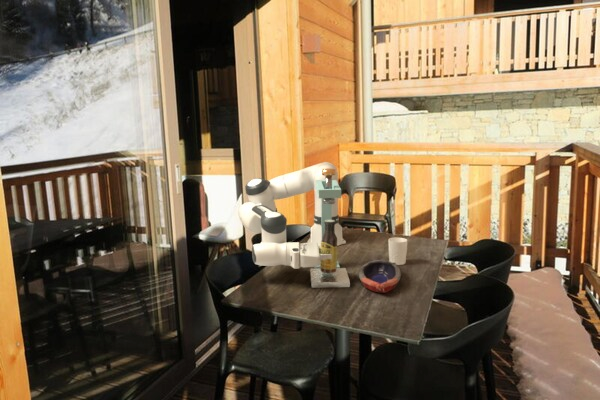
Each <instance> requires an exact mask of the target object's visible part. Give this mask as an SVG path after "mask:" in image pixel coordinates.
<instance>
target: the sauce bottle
mask: <svg viewBox="0 0 600 400" xmlns="http://www.w3.org/2000/svg"><path fill="white" fill-rule="evenodd" d="M324 224H325V231H324V234H323V237H322V240H321V253H320V254H327V253H329V254H330V253H331V254H332V259H326V260H321V261H320V267H321V271H322V272H324V273H333V272H336V268H337V261H338V246H337V237H336V235H335V230H334V229H335V220H325V222H324Z"/></svg>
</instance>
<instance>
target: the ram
mask: <svg viewBox="0 0 600 400" xmlns="http://www.w3.org/2000/svg"><path fill="white" fill-rule="evenodd" d="M336 169H337V168H336ZM336 169H331V168H327V169H322V175H325V182H326V189H332V175H336ZM323 203H324V204H333V203H335V198H323Z"/></svg>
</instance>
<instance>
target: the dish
mask: <svg viewBox="0 0 600 400" xmlns="http://www.w3.org/2000/svg"><path fill="white" fill-rule="evenodd" d="M358 278H359V279H360V282H361V284H362V285H363V287H364V288H366V289H368V290H369V291H372V292H377V293H380V294H381V293H383V294H384V293H388V292H389V291H392V290H394V289H395V288H397V286H398V285H399V282H400V280H401V278H402V274H401V270H400V268H399V265H396V263H395V262H394V263H392V262H390V261H389V260H384V259H375V260H370V261H368V262H366V263H364V264H363V265H362V266H361V267H360V269H359V271H358Z"/></svg>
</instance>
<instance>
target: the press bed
mask: <svg viewBox="0 0 600 400" xmlns="http://www.w3.org/2000/svg"><path fill="white" fill-rule="evenodd" d="M309 272H310V273H309V274H310V284H311V288H312V289H314V288H350V287H351V281H350V278H349V273H348V271H347V268H345V267H340V268H336V272H333V273H324V272H322V271H321V268H320V269H315V268H310V271H309Z"/></svg>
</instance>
